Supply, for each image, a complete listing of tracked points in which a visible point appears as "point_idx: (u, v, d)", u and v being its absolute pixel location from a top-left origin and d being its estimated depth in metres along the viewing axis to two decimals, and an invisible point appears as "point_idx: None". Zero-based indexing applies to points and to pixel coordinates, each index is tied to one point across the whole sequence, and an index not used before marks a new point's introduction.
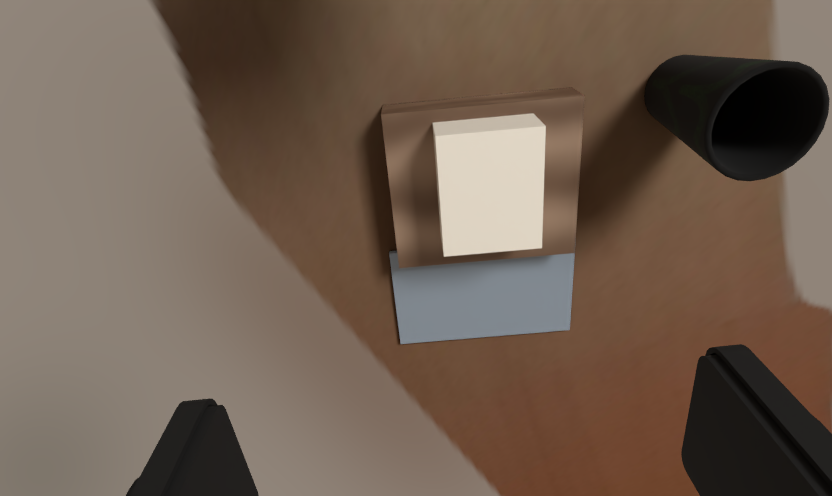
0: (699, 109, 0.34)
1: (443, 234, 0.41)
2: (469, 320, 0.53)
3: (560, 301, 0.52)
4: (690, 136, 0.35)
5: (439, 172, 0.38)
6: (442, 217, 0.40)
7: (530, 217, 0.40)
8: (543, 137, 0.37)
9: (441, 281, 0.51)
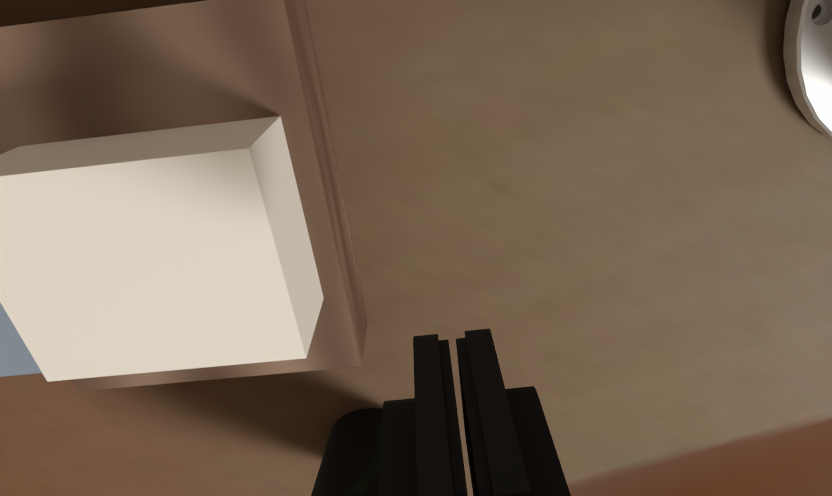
0: None
1: None
2: None
3: None
4: None
5: (159, 162, 0.15)
6: (40, 175, 0.15)
7: (109, 354, 0.19)
8: (283, 357, 0.19)
9: None
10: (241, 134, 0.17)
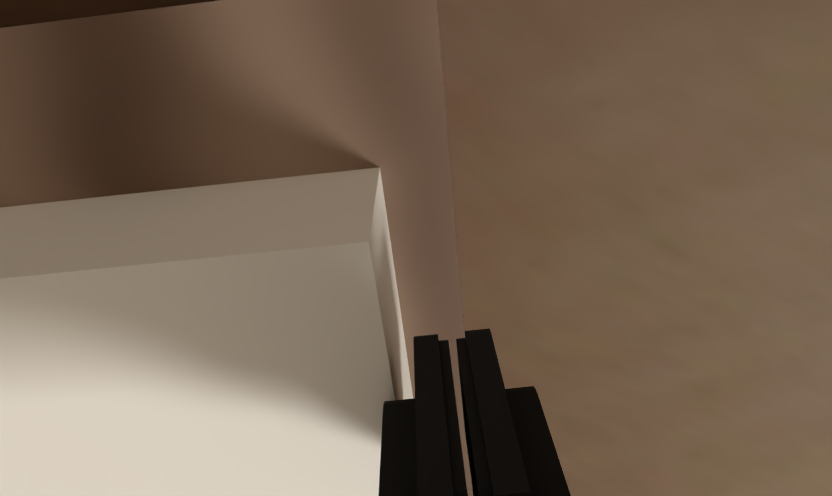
0: None
1: None
2: None
3: None
4: None
5: (213, 263, 0.09)
6: (9, 283, 0.09)
7: None
8: None
9: None
10: (336, 205, 0.10)
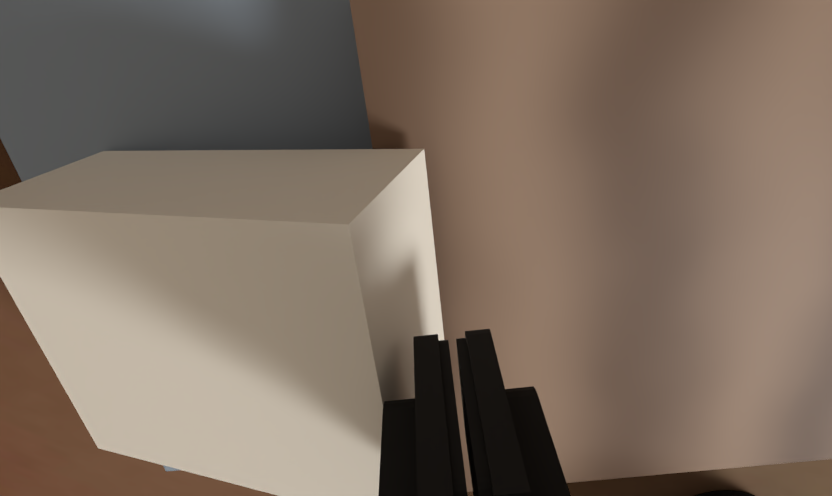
0: None
1: (21, 212, 0.11)
2: None
3: None
4: None
5: (214, 223, 0.09)
6: (69, 215, 0.11)
7: (159, 443, 0.14)
8: None
9: (258, 146, 0.15)
10: (352, 183, 0.10)
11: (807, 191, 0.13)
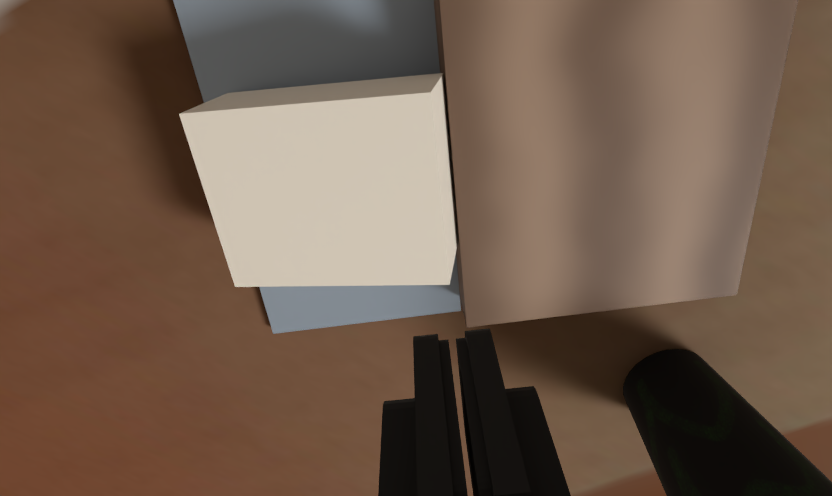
0: (804, 478, 0.23)
1: (226, 112, 0.20)
2: None
3: (333, 309, 0.29)
4: (748, 471, 0.23)
5: (355, 102, 0.19)
6: (262, 109, 0.19)
7: (287, 267, 0.23)
8: (429, 282, 0.22)
9: None
10: (417, 84, 0.20)
11: (700, 102, 0.22)
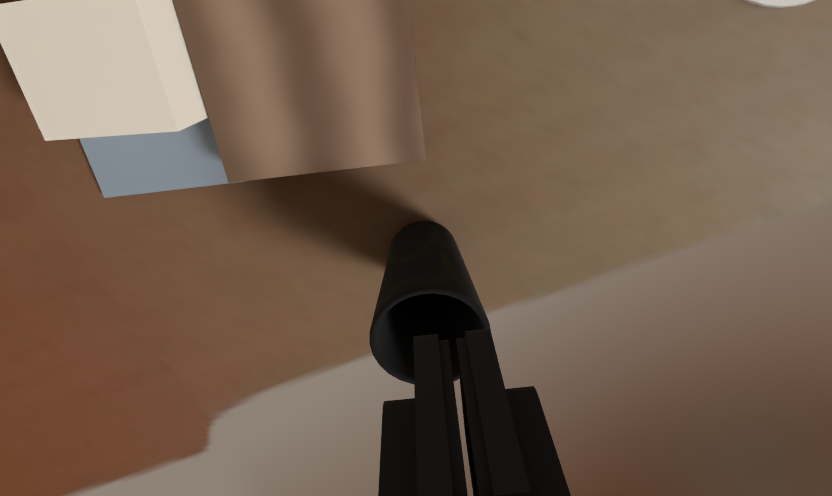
0: (437, 276, 0.32)
1: (12, 4, 0.29)
2: None
3: (146, 178, 0.39)
4: (405, 275, 0.33)
5: None
6: (33, 1, 0.29)
7: (74, 122, 0.32)
8: (166, 129, 0.31)
9: None
10: None
11: (353, 4, 0.31)
